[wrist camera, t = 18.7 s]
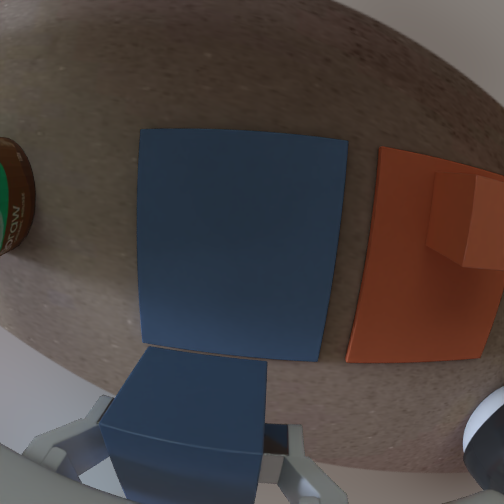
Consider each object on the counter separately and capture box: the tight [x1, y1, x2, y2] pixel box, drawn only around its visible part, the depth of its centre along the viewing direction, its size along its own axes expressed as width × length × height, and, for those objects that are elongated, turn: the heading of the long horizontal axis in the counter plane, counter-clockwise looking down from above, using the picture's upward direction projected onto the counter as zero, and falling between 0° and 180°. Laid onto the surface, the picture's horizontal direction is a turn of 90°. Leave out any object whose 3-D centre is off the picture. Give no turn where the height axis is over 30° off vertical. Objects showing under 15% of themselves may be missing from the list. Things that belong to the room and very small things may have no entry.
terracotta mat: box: [345, 146, 504, 363], centre depth 18 cm, size 14×12×1 cm
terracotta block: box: [425, 172, 504, 271], centre depth 15 cm, size 5×5×5 cm
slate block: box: [99, 346, 267, 504], centre depth 10 cm, size 5×5×5 cm
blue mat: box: [137, 129, 348, 362], centre depth 19 cm, size 14×12×1 cm
